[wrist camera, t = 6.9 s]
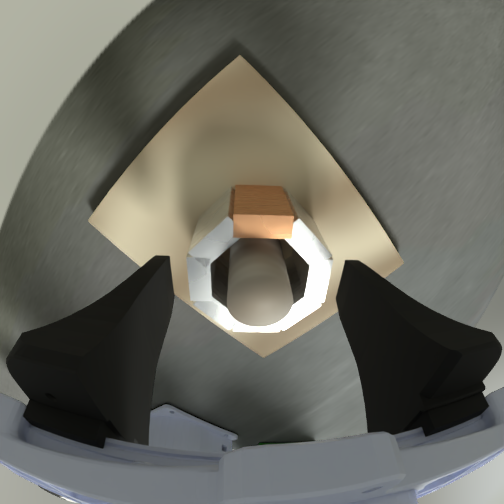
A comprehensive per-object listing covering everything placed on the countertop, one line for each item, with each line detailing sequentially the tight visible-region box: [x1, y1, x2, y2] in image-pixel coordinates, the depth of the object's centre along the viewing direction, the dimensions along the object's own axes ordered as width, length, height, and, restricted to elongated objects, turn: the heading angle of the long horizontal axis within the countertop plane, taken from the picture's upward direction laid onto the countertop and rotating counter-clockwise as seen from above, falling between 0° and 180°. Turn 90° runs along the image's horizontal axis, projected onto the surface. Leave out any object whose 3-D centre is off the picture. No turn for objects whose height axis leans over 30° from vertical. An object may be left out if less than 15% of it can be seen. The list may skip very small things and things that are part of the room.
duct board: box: [88, 55, 404, 358], centre depth 13 cm, size 14×11×6 cm
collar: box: [186, 185, 333, 332], centre depth 13 cm, size 6×6×4 cm
